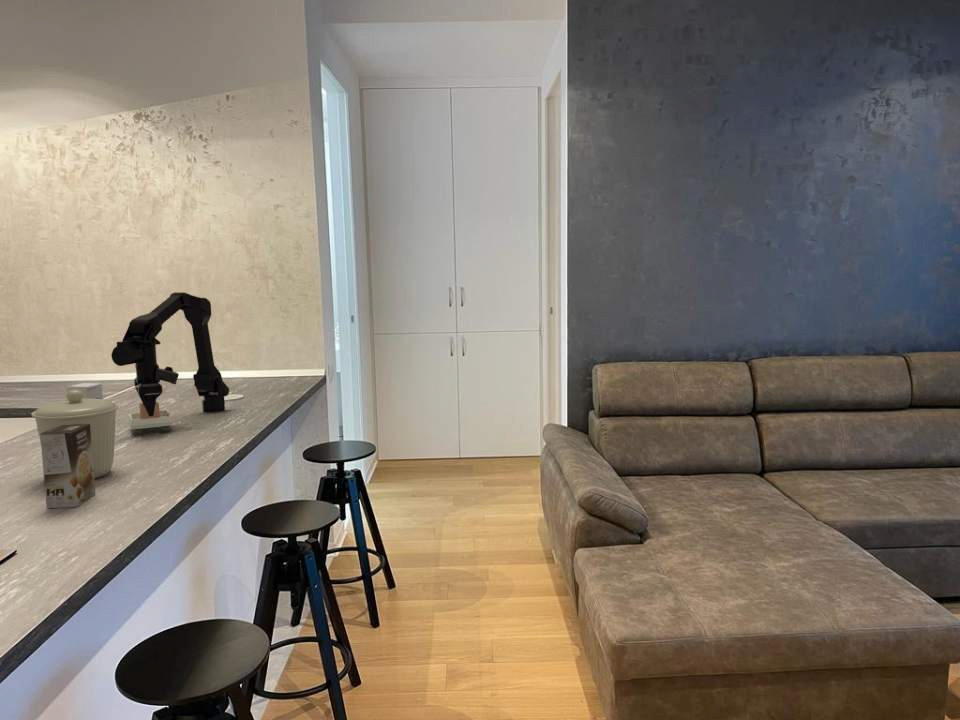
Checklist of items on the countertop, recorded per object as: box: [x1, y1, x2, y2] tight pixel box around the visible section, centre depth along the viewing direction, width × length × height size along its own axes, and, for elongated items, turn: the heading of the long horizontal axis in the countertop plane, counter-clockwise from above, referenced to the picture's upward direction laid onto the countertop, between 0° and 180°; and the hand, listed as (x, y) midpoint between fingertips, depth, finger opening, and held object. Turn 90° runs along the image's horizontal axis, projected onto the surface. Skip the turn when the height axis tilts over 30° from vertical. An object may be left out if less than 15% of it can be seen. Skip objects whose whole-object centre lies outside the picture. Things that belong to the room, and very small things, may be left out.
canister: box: [31, 390, 119, 480], centre depth 173 cm, size 18×18×21 cm
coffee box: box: [40, 424, 96, 509], centre depth 155 cm, size 9×6×16 cm
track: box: [130, 422, 209, 437], centre depth 219 cm, size 21×12×1 cm, turn 119°
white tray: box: [128, 409, 174, 437], centre depth 216 cm, size 11×11×5 cm
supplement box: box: [66, 382, 104, 399], centre depth 232 cm, size 7×7×13 cm
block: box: [138, 401, 161, 419], centre depth 216 cm, size 5×5×5 cm
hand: (149, 413), depth 216 cm, fingers open, 9 cm apart
